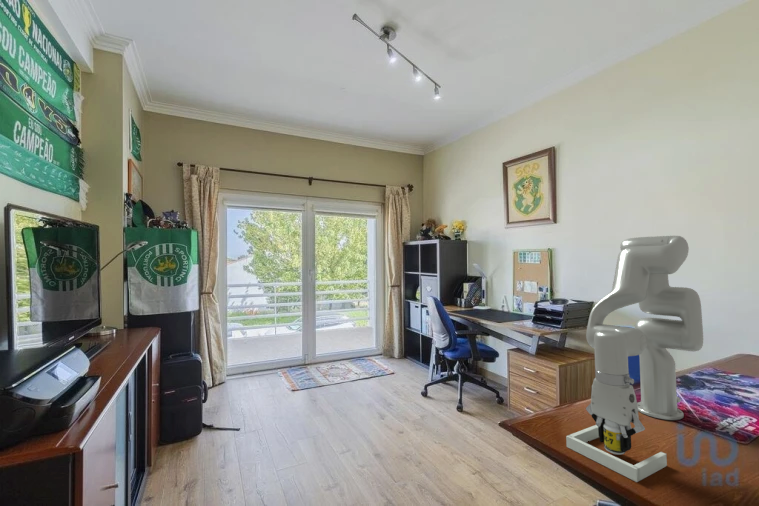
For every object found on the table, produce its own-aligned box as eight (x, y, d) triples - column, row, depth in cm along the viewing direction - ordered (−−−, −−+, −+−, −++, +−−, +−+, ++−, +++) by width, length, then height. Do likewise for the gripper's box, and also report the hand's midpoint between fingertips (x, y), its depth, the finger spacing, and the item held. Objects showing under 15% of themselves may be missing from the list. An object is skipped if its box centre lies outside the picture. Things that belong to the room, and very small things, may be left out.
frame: (596, 434, 105) (595, 424, 105) (666, 465, 89) (666, 453, 89) (566, 446, 99) (566, 436, 99) (636, 482, 83) (636, 469, 83)
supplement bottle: (600, 446, 97) (598, 415, 97) (616, 444, 97) (614, 414, 97) (613, 455, 92) (611, 423, 92) (630, 454, 92) (628, 422, 93)
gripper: (655, 384, 89) (658, 457, 89) (589, 366, 104) (592, 429, 104) (638, 390, 86) (642, 466, 85) (573, 371, 101) (575, 435, 101)
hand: (614, 444), depth 95 cm, fingers closed on supplement bottle, 4 cm apart
